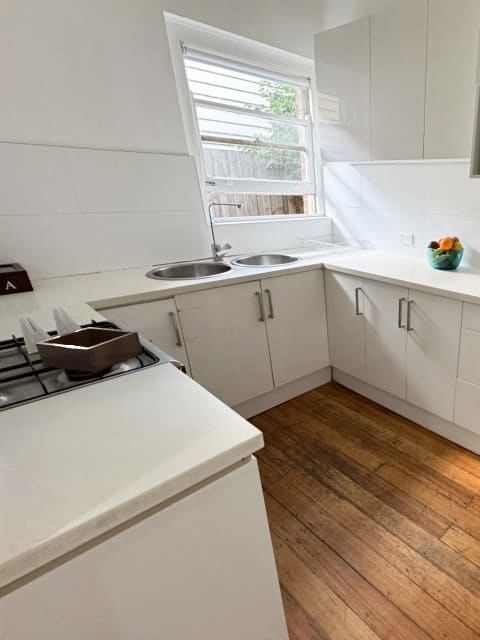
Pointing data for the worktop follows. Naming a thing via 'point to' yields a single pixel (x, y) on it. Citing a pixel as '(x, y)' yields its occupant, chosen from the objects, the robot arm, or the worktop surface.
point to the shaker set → (37, 334)
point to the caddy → (89, 349)
